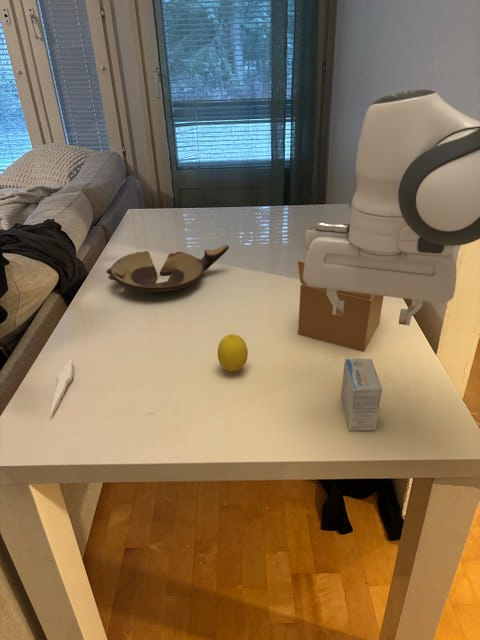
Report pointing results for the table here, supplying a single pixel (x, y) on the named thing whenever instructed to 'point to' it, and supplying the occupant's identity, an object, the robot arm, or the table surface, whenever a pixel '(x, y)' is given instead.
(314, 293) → the cardboard box
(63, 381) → the white tapered rod
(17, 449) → the table surface
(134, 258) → the broken bowl
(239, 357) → the lemon
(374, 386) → the medicine box
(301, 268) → the flap
